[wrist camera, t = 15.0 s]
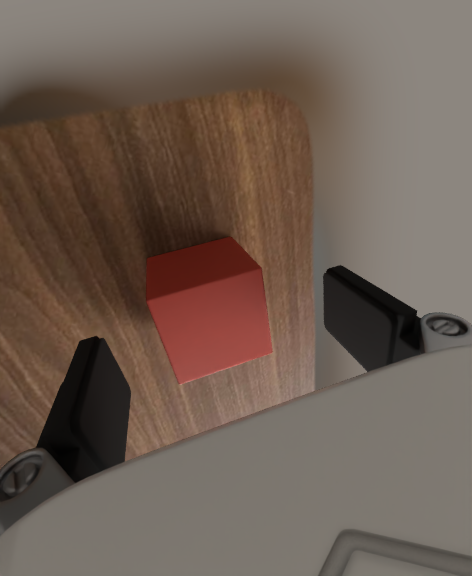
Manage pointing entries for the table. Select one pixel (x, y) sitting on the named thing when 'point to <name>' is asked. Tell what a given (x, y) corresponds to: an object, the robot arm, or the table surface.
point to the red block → (208, 307)
